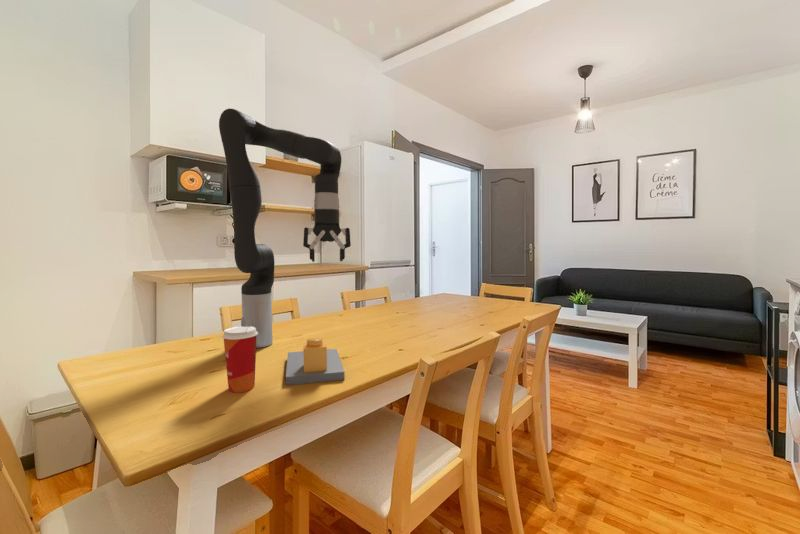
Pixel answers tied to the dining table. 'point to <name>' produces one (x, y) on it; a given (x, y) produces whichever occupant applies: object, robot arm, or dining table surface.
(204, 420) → the dining table surface
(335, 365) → the board
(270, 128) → the robot arm
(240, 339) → the paper cup
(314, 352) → the orange toy brick
